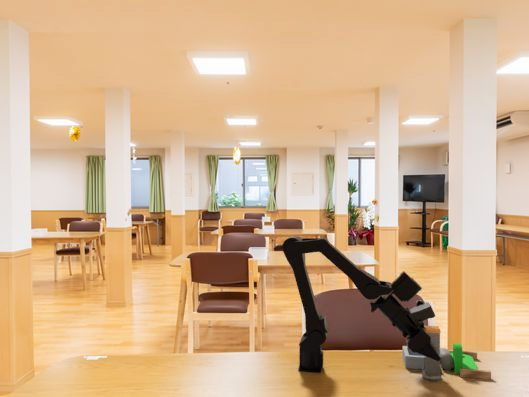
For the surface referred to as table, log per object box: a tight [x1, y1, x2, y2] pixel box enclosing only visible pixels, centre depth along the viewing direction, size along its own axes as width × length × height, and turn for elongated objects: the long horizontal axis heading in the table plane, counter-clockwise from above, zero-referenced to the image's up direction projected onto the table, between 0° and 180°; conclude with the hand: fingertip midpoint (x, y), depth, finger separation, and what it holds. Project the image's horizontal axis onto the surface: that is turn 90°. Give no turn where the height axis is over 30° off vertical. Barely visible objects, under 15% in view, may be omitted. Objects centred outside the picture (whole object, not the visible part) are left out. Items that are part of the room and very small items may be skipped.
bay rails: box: [448, 349, 492, 380], centre depth 133 cm, size 8×16×2 cm, turn 168°
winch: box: [401, 345, 454, 371], centre depth 136 cm, size 14×9×4 cm, turn 78°
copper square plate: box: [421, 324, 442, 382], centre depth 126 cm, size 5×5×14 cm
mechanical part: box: [450, 342, 479, 375], centre depth 134 cm, size 12×6×8 cm, turn 163°
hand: (436, 353), depth 126 cm, fingers open, 9 cm apart
